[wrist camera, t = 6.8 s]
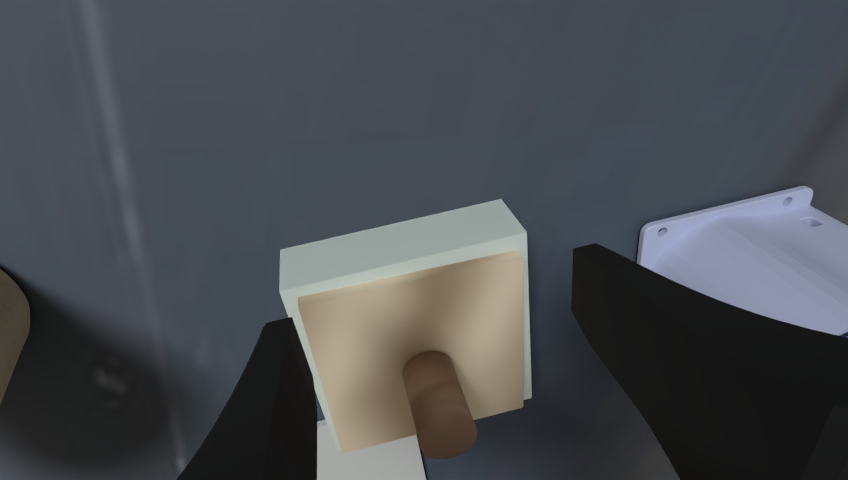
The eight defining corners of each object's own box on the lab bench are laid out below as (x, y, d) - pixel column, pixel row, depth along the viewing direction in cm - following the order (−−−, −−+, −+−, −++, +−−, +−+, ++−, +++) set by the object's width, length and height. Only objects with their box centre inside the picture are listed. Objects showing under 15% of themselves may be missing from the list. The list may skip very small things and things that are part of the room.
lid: (517, 250, 21) (567, 321, 17) (518, 398, 26) (558, 479, 22) (297, 296, 20) (299, 384, 16) (341, 443, 25) (350, 537, 21)
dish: (498, 195, 24) (526, 232, 21) (508, 351, 29) (531, 397, 26) (280, 245, 23) (279, 291, 20) (332, 398, 28) (337, 452, 25)
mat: (408, 397, 29) (409, 403, 28) (430, 499, 34) (431, 504, 34) (224, 446, 28) (224, 452, 27) (277, 543, 33) (277, 550, 33)
